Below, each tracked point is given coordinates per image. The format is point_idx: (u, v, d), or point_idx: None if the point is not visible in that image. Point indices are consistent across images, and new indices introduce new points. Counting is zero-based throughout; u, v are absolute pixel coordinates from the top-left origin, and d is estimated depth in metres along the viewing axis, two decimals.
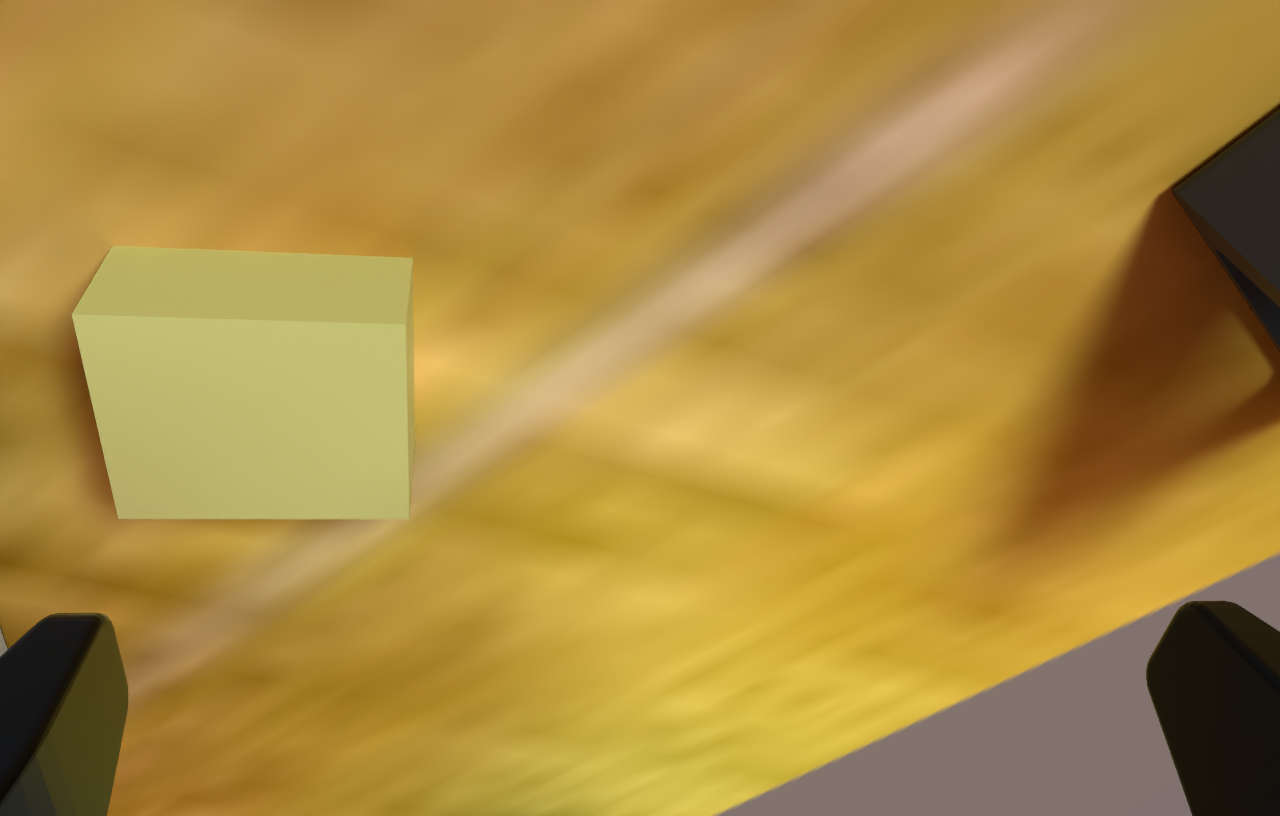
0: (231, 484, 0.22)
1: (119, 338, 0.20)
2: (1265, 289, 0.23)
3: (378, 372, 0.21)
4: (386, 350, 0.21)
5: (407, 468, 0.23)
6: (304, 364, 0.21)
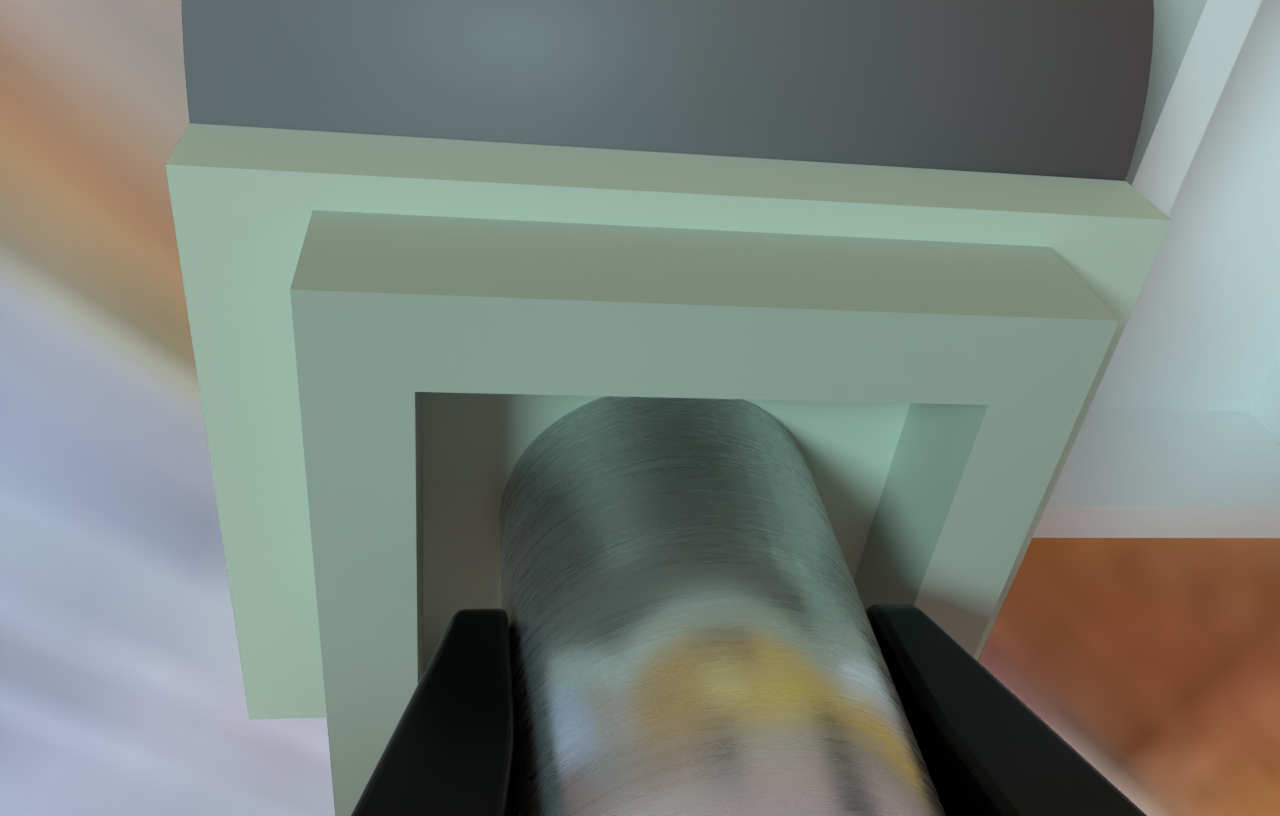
0: None
1: None
2: None
3: None
4: None
5: None
6: None
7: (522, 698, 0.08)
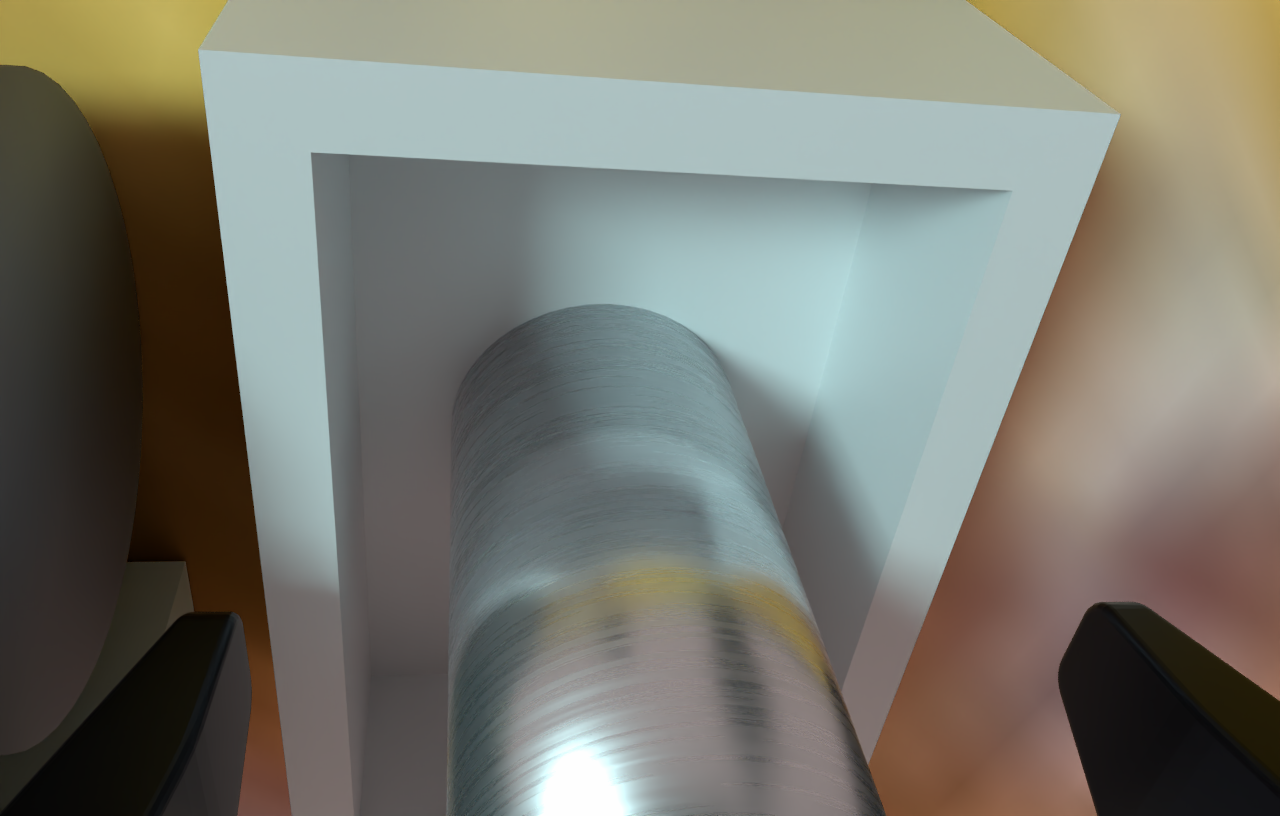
0: None
1: None
2: None
3: None
4: None
5: None
6: None
7: (463, 561, 0.09)
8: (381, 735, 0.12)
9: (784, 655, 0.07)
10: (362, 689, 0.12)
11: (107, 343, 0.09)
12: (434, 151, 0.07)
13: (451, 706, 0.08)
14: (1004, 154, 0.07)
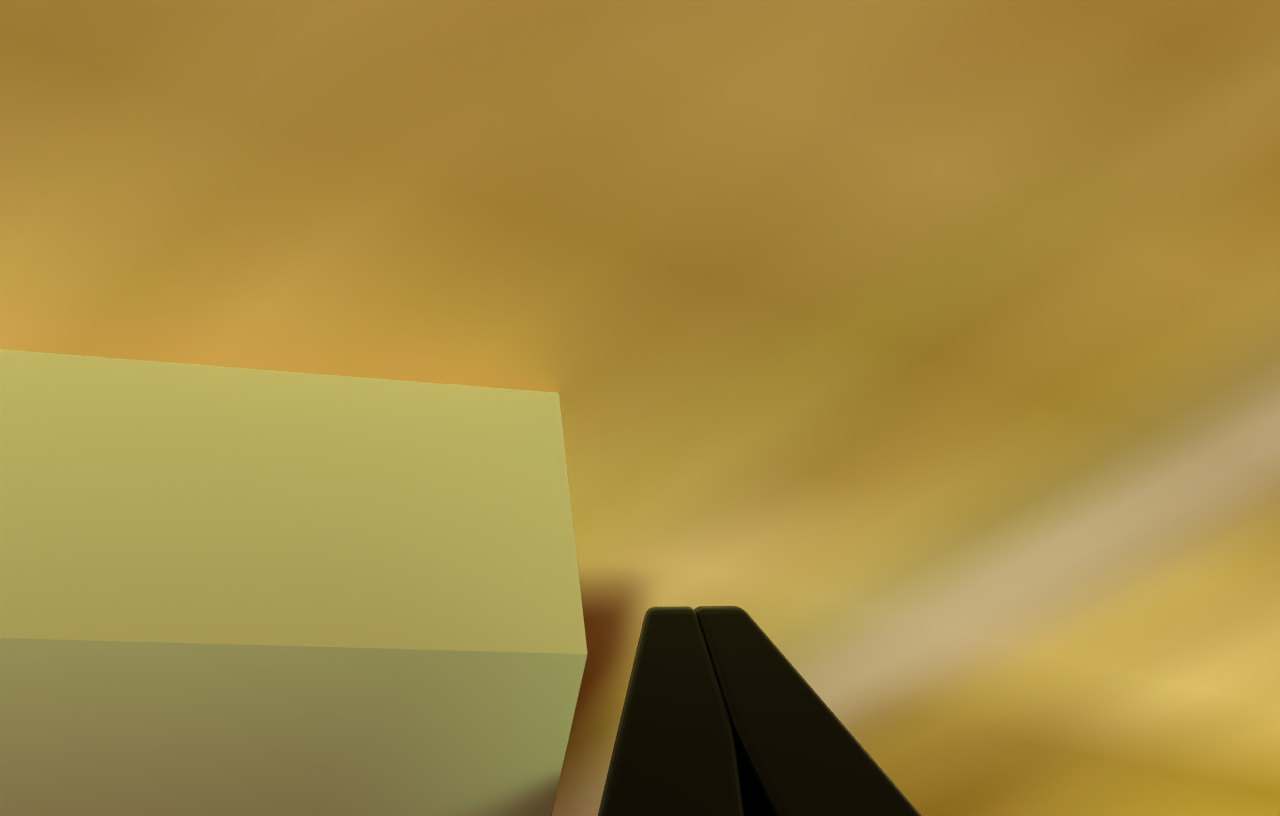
0: None
1: None
2: None
3: (477, 768, 0.07)
4: (513, 717, 0.07)
5: None
6: (251, 754, 0.07)
7: None
8: None
9: None
10: None
11: None
12: None
13: None
14: None
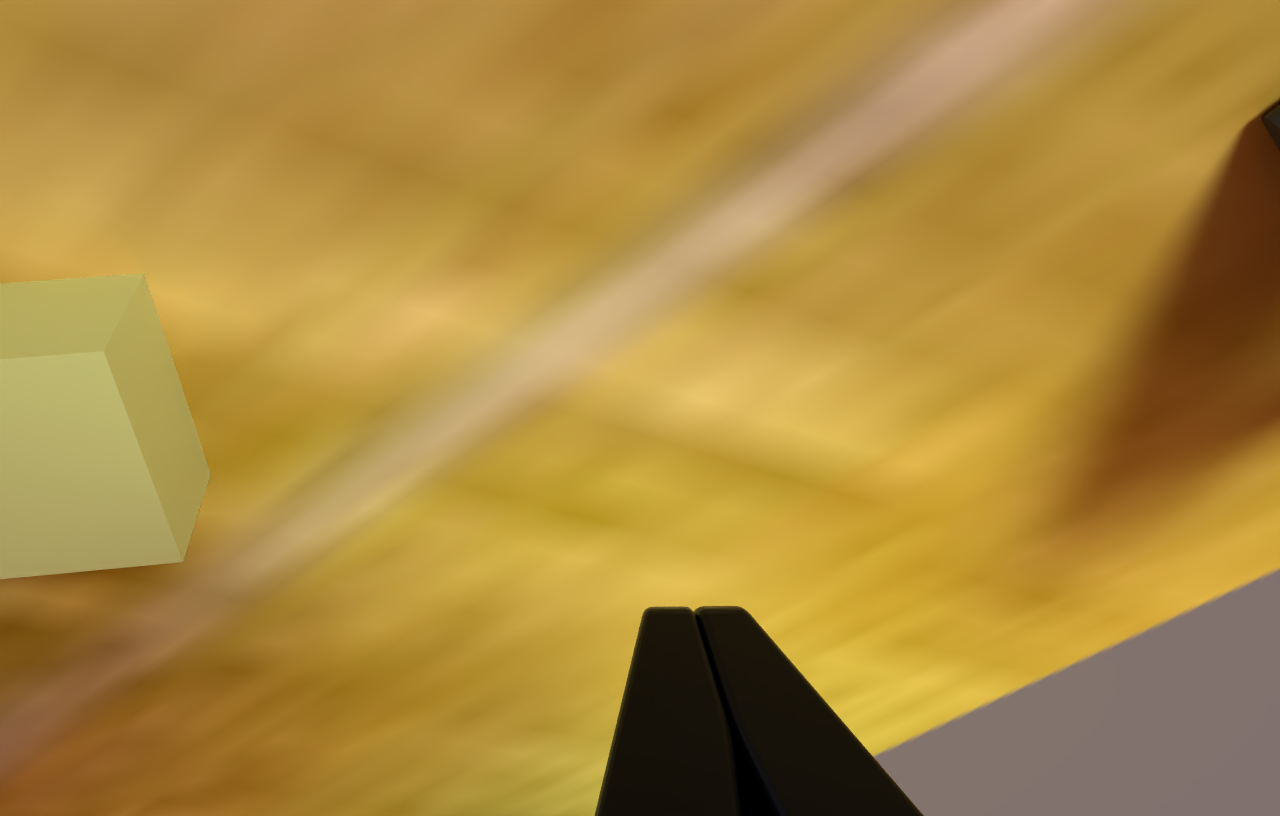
0: None
1: None
2: None
3: (91, 406, 0.19)
4: (92, 382, 0.18)
5: (161, 507, 0.20)
6: (5, 408, 0.19)
7: None
8: None
9: None
10: None
11: None
12: None
13: None
14: None
